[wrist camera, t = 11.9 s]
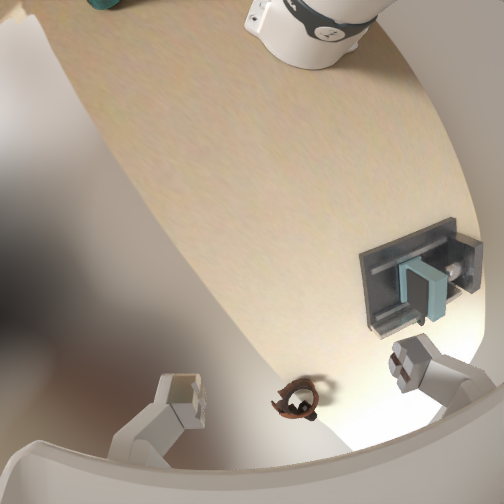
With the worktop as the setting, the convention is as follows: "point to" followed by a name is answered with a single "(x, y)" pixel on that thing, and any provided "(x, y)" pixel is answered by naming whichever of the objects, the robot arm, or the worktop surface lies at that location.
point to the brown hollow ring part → (304, 407)
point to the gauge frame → (431, 252)
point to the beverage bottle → (102, 3)
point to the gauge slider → (423, 288)
